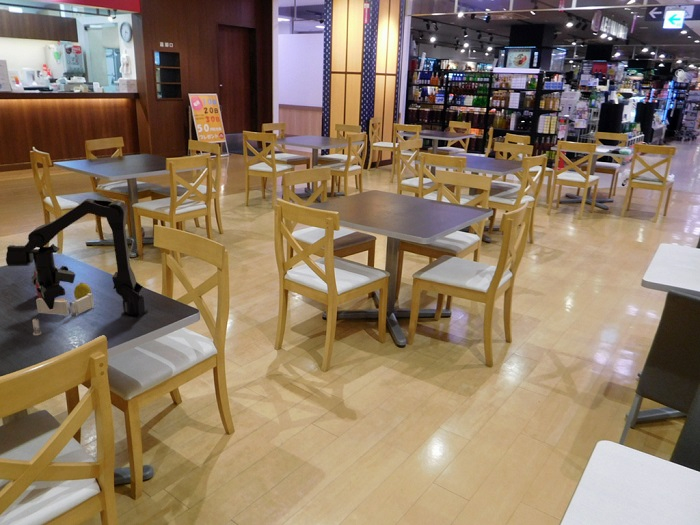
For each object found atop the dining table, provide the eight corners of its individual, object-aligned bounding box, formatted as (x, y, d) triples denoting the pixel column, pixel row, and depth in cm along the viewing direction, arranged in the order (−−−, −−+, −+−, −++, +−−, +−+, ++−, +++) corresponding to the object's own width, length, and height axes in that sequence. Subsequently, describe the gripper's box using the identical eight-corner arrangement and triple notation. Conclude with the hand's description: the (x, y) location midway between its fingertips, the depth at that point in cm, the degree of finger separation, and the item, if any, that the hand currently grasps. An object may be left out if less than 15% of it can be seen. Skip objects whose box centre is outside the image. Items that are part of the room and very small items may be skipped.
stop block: (67, 307, 193) (66, 299, 192) (60, 310, 191) (59, 302, 190) (60, 305, 194) (59, 298, 193) (54, 308, 192) (53, 301, 191)
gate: (69, 313, 187) (67, 300, 186) (66, 315, 186) (65, 302, 185) (40, 310, 188) (38, 298, 187) (37, 312, 187) (35, 299, 185)
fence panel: (94, 307, 194) (92, 294, 193) (79, 314, 188) (77, 300, 186) (90, 306, 195) (88, 293, 193) (75, 314, 188) (73, 300, 187)
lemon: (72, 304, 196) (69, 283, 194) (85, 299, 201) (83, 279, 198) (82, 307, 194) (79, 286, 191) (95, 302, 198) (93, 282, 196)
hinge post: (77, 315, 187) (75, 302, 186) (73, 317, 186) (72, 303, 184) (73, 314, 188) (72, 301, 186) (70, 316, 186) (68, 303, 185)
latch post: (43, 333, 174) (41, 318, 172) (37, 336, 172) (35, 321, 170) (37, 331, 175) (35, 317, 173) (31, 334, 172) (29, 320, 171)
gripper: (79, 268, 178) (84, 312, 182) (63, 254, 191) (69, 295, 196) (41, 274, 171) (47, 320, 176) (28, 259, 184) (34, 302, 189)
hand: (51, 308), depth 184 cm, fingers closed
